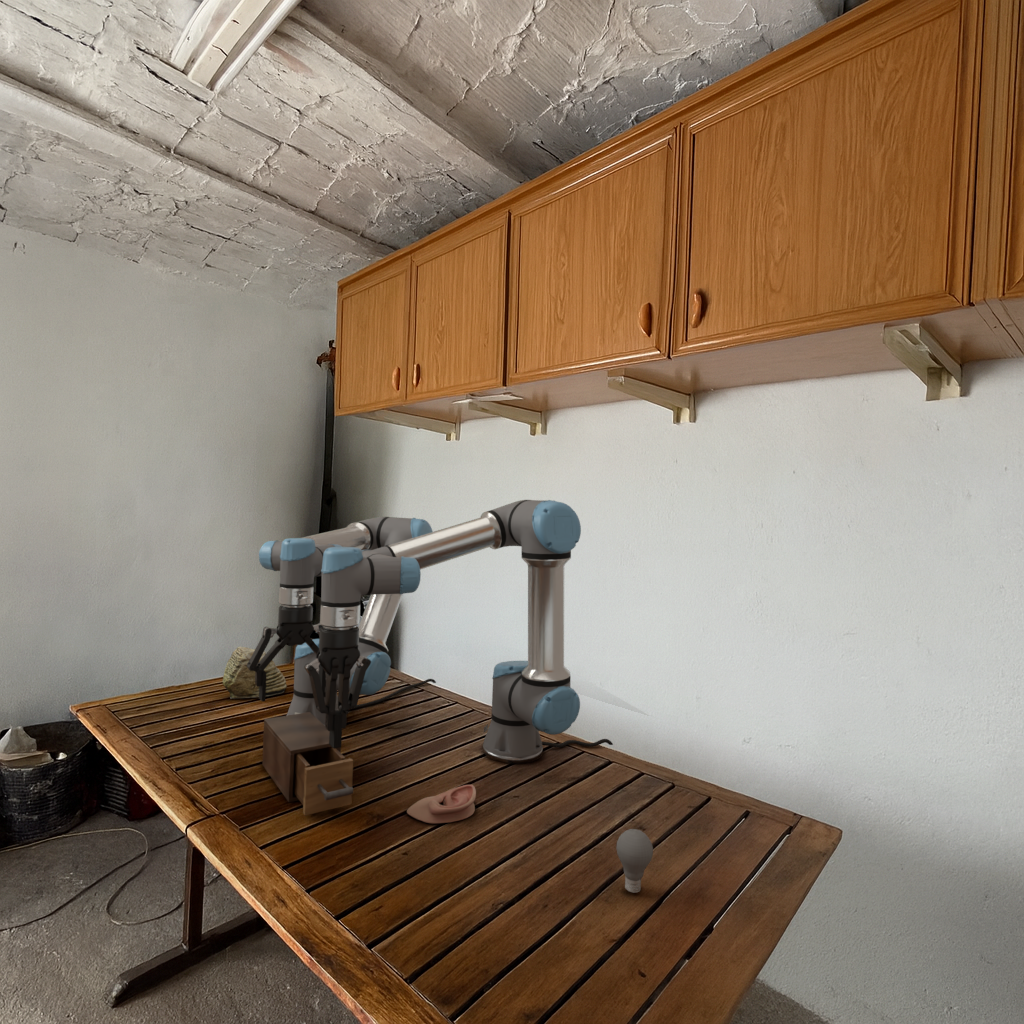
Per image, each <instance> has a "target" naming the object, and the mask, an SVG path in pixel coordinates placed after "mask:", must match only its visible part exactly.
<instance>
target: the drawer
mask: <svg viewBox="0 0 1024 1024" xmlns="http://www.w3.org/2000/svg"><path fill="white" fill-rule="evenodd" d="M353 775H354V759H353V758H346V757H345V756H344V755H343V754H342V753H340V752H339V751H338V750H337V749H336V748H333V747H327V748H322V749H317V750H311V751H306V752H301V753H296V754H294V776H293V793H294V794H295V795H296V797H297V798H298V799H299V800H298V801H299V802H300V804H301V805H302V814H303V815H304V816H309V815H314V814H318V813H321V812H325V811H328V810H333V809H337V808H340V807H345V806H349V805H352V804H353V803H352V798H353V794H354V788H353V778H354V777H353Z"/></svg>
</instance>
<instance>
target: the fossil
mask: <svg viewBox="0 0 1024 1024" xmlns="http://www.w3.org/2000/svg"><path fill="white" fill-rule="evenodd" d="M255 649H256V648H251V647H247V646H246V647H245V646H238V647H237V648H236V649H235V650H233V651H232V653H231V656H230V657H229V659H228V660H227V663H226V666H225V668H224V671H223V675H222V676H223V677H222V685H223V687H224V688H225V690H226V691H228V693H229V698H230V699H250V698H259V686H258V687H257V686H256V684H255V671H250V670H249V669H248V668H247V664H248V662H249V660H250V658H251V656H252V655H253V653H254V651H255ZM266 653H267V652H265V651H264V652H263V654H262V656H261V658H260V660H261V659H262V658H263V657H264V656H265V654H266ZM260 660H259V662H260ZM259 662H258V663H259ZM264 671H265V672H266V697H271V696H275V695H281V694H284V693H285V691H286V689H287V687H288V686H287V680H286V678H285V676H284V674H283V673H282V672H281V669H279V668H278V667H277V665H276V663H275V662H274V659H273V660H272V661H271V662H270V663H269V664H268V666H267V667H266V668H265V669H264Z"/></svg>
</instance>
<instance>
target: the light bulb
mask: <svg viewBox="0 0 1024 1024" xmlns="http://www.w3.org/2000/svg"><path fill="white" fill-rule="evenodd" d="M615 849H616V854H617V857H618V859H619V861H620V863H621V865H622V867H623V873H624V874H623V875H624V876H625V878H624V888H625V890H627V891H628V892H630V893H634V894H635V893H639V892H640V891H641V889H642V887H641V886H642V879H643V877H644V875H645V871H646V868H647V867H648V866H649V864H650V863H651V861H652V859H653V855H654V847H653V843H652V841H651V838H649V836H648V835H647V834H646V833H645V832H643V831H642V830H641V829H636V828H629V829H627V830H625V831H623V832H622V833H621V834H620V835H619V837H618V839H617V841H616V847H615Z"/></svg>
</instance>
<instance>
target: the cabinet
mask: <svg viewBox="0 0 1024 1024" xmlns="http://www.w3.org/2000/svg"><path fill="white" fill-rule="evenodd" d="M329 732H330V731H328V730H327V729H326V727H325V726H324V725H323V724H322V723H321V722H320V721H319V720H318V719H317V718H316V717H315V716H314V715H312V714H311V713H310V712H307V713H301V714H294V715H288V716H286V715H282V716H275V717H269V718H264V719H263V735H262V736H263V737H262V739H263V740H262V762H261V763H262V764H261V765H262V767H263V768H264V770H265V771H266V772H267V774H268V775H269V777H270V778H271V780H272V781H273V782H274V784H275V785H276V787H277V788H278V789H279V791H280V792H281V794H282V795H283V797H284V799H286V801H287V802H288V803H293V802H297V801H299V799H298V798H297V797H296V795H295V794H294V793H293V776H294V754H296V753H301V752H306V751H311V750H317V749H322V748H327V747H332V746H331V745H330V744H329ZM336 749H337V750H338V751H339V752H340V753H341V752H342V751H341V750H342V746H341V747H339V748H336ZM341 754H342V753H341Z"/></svg>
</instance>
